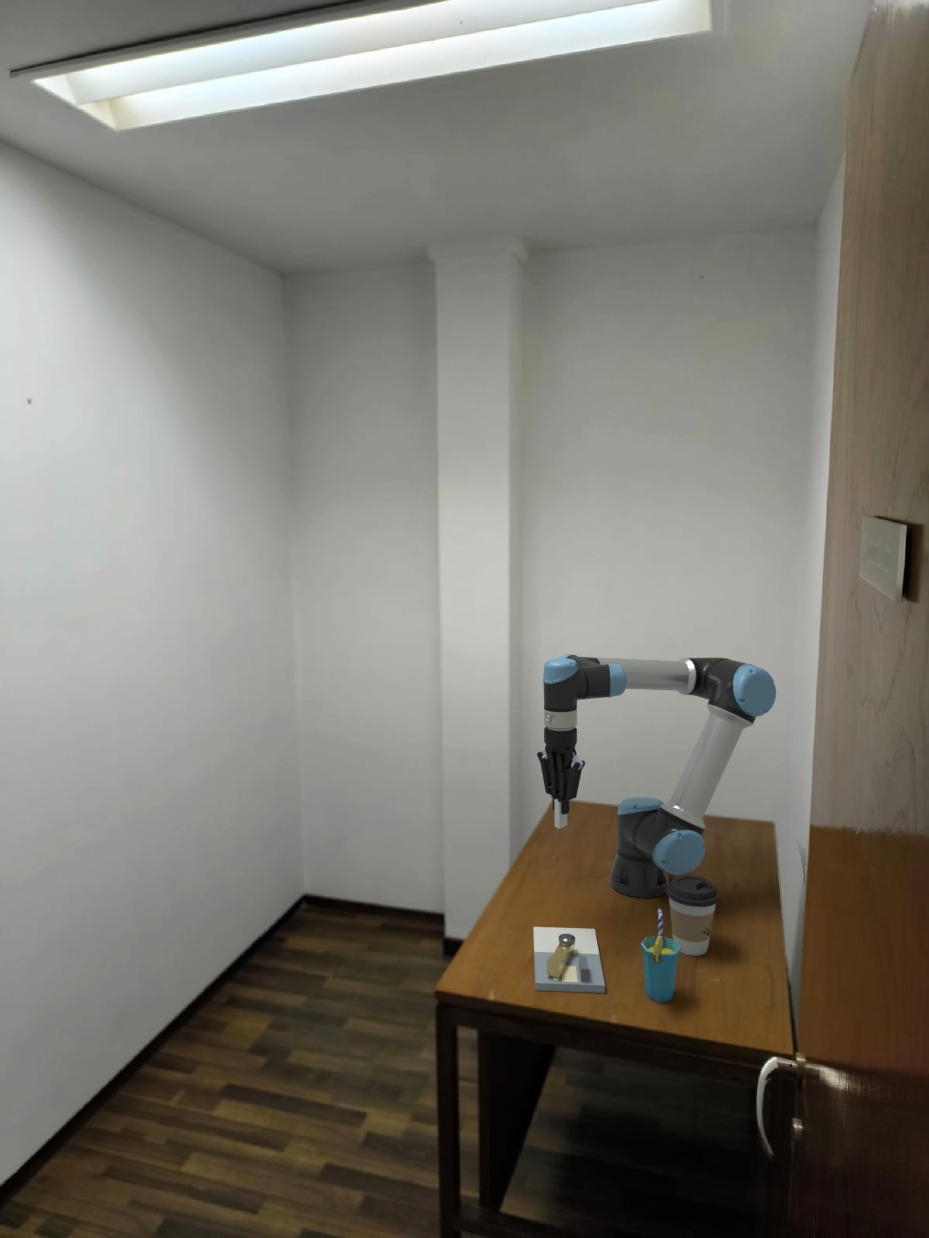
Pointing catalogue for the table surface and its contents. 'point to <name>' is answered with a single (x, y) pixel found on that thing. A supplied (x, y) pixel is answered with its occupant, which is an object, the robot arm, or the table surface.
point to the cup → (660, 964)
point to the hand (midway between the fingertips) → (561, 825)
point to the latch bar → (560, 955)
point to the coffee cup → (692, 912)
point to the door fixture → (580, 966)
